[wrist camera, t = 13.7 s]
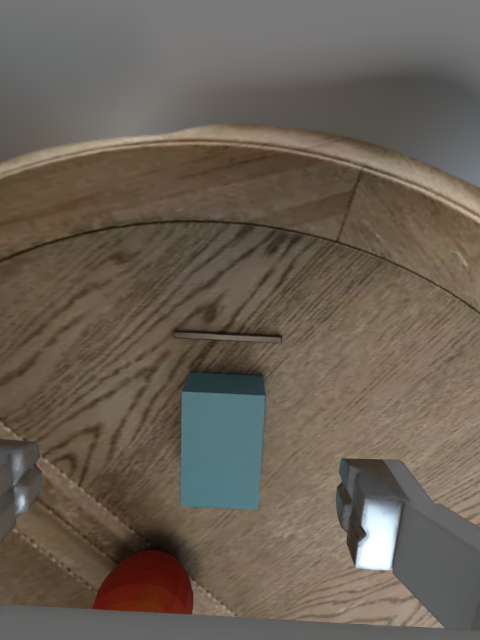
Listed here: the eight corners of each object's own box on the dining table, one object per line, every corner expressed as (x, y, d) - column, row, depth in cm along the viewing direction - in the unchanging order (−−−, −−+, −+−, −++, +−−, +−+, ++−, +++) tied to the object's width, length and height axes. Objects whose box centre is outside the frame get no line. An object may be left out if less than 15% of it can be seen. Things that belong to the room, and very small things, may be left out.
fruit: (156, 515, 35) (122, 616, 26) (215, 572, 37) (205, 689, 27) (93, 563, 37) (38, 676, 27) (153, 617, 38) (121, 743, 28)
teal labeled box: (180, 506, 30) (188, 474, 34) (258, 510, 30) (256, 477, 34) (181, 391, 28) (190, 372, 32) (265, 395, 28) (262, 375, 32)
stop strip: (174, 330, 31) (173, 331, 31) (281, 335, 31) (282, 337, 31) (174, 336, 31) (173, 338, 31) (281, 341, 31) (281, 343, 31)
